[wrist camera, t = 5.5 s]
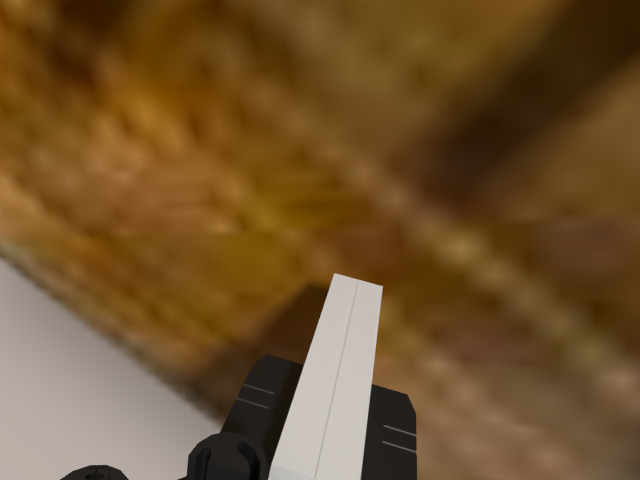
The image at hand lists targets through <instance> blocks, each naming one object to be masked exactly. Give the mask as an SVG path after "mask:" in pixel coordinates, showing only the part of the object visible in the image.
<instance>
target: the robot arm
mask: <svg viewBox="0 0 640 480" xmlns="http://www.w3.org/2000/svg"><path fill="white" fill-rule="evenodd" d="M382 288H383V286H379V285H375V284H372V283H368V282H365V281H361V280H357V279H354V278H350V277H347V276H343V275H339V274H336V273H334V276H333V279H332V282H331V285H330V289H329V292H328V295H327V298H326V301H325V304H324V307H323V310H322V313H321V316H320V319H319V322H318V325H317V328H316V331H315V334H314V337H313V340H312V343H311V346H310V349H309V352H308V355H307V358H306V361H305V364H304V365H302V364H298V363H295V362H291V361H288V360H285V359H281V358H278V357H275V356H271V355H268V354H267V355H266V356H265V357H263V358H262V359H261V360H260V361H258V362H257V363H256V364H255V365H253V366H252V368H251V370H250V372H249V374H248V376H247V378H246V380H245V382H244V386H243V387H242V389H241V391H240V393H239V395H238V397H237V400H236V401H235V403H234V405H233V407H232V409H231V411H230V413H229V415H228V417H227V419H226V421H225V423H224V425H223V427H222V430H221V432H220V433H218V434H214V435H211V436H209V437H207V438H206V439H204V440H202V441H201V442H199V443H198V444H197V445H196V447H195V448H194V449H193V450H192V452H191V453H190V454H189V458H188V469H187V476H186V477H184V478H181V479H178V480H417V455H416V413H415V411H414V408H413V406H412V404H411V402H410V400H409V397H408V395H407V394H404V393H400V392H397V391H394V390H390V389H387V388H383V387H380V386H377V385H373V384H372V375H373V367H374V358H375V349H376V340H377V332H378V323H379V314H380V306H381V297H382ZM60 480H128V478H127V477H126V476H125V475H124V474H123V473H122V472H121V470H118V469H116V468H113V467H110V466H108V465H90V466H87V467H84V468H81V469H78V470H75V471H72V472H71V473H69V474H68V475H66V476H65V477H63V478H62V479H60Z"/></svg>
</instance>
